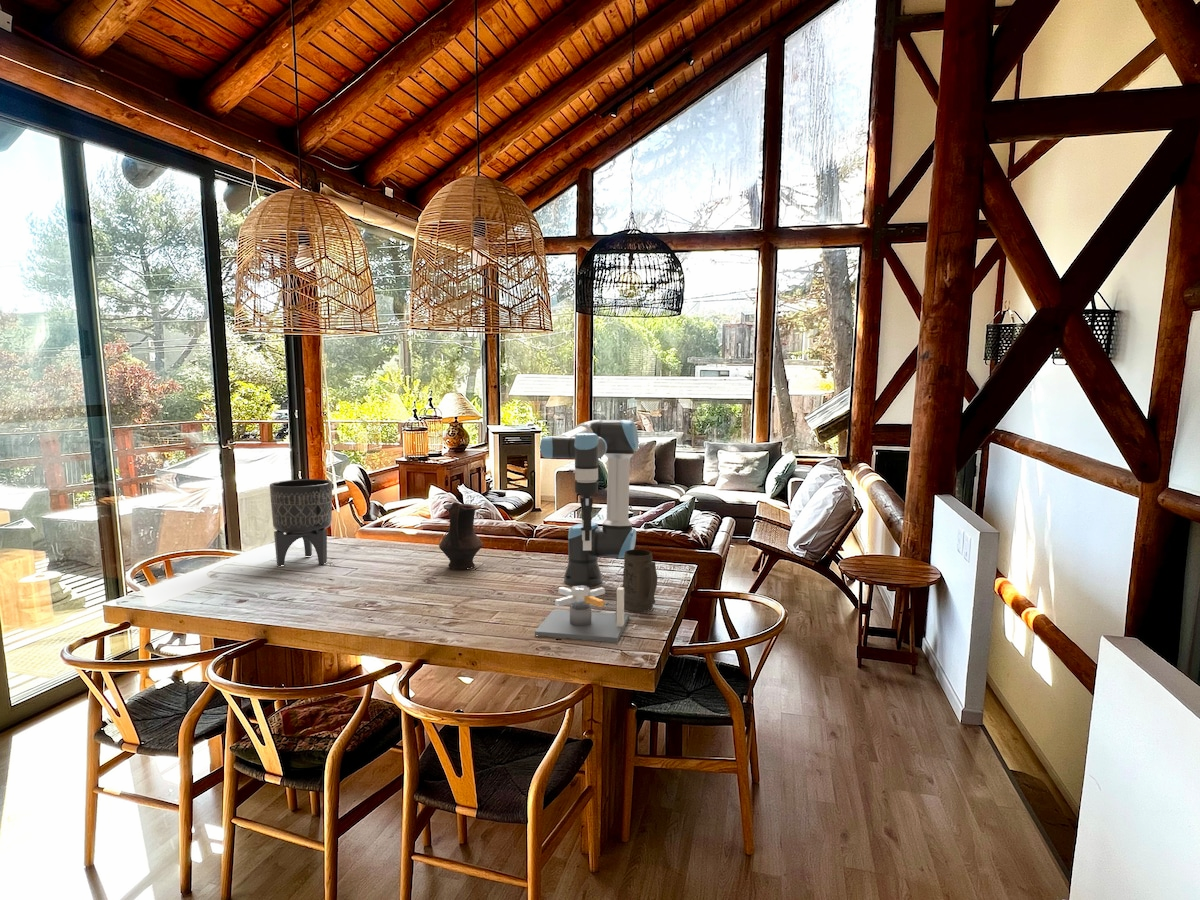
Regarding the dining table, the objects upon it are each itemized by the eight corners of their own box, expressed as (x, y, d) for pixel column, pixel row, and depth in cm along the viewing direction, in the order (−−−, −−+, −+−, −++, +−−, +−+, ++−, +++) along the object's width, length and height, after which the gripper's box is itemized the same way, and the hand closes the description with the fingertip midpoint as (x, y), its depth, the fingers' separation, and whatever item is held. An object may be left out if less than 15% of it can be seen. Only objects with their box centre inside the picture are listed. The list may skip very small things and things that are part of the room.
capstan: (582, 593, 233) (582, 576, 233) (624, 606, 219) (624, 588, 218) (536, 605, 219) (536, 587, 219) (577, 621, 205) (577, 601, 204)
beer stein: (614, 605, 241) (617, 551, 238) (635, 599, 248) (638, 546, 246) (647, 619, 230) (650, 562, 227) (667, 611, 238) (671, 556, 235)
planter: (283, 573, 282) (280, 488, 279) (264, 561, 301) (261, 482, 298) (343, 563, 299) (341, 483, 296) (322, 552, 318) (319, 477, 314)
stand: (553, 613, 233) (553, 574, 232) (628, 618, 228) (629, 579, 226) (534, 636, 211) (534, 593, 210) (617, 642, 206) (617, 599, 205)
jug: (445, 561, 302) (444, 494, 300) (487, 562, 302) (486, 495, 299) (432, 574, 281) (430, 502, 279) (476, 574, 281) (475, 503, 278)
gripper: (574, 475, 233) (574, 536, 235) (575, 486, 208) (575, 554, 210) (596, 475, 233) (596, 536, 235) (599, 486, 208) (599, 554, 210)
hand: (586, 545), depth 223 cm, fingers open, 13 cm apart
